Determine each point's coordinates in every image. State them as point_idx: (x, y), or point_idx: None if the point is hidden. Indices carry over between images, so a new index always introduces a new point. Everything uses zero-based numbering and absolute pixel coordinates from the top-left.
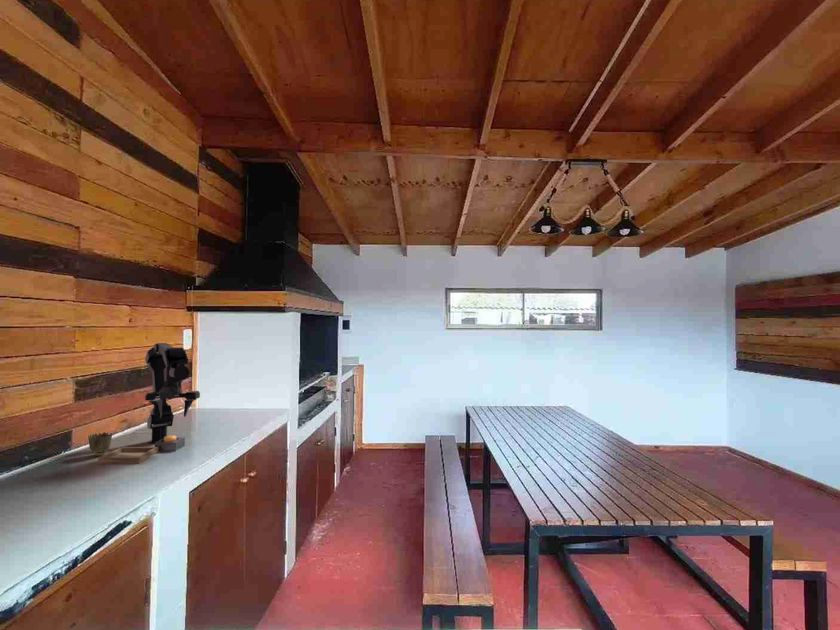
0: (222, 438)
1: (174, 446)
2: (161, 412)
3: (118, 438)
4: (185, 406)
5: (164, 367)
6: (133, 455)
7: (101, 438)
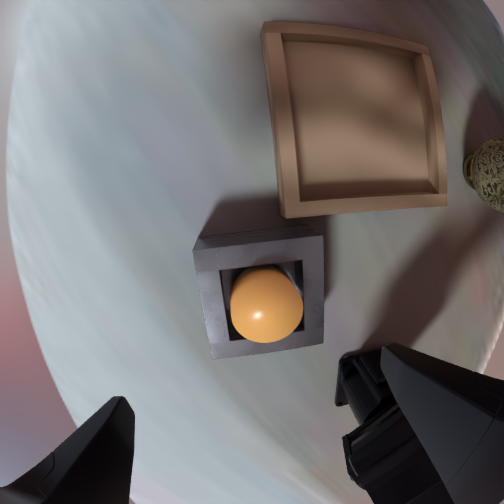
0: None
1: (202, 243)
2: (404, 401)
3: (475, 361)
4: (50, 477)
5: None
6: (356, 129)
7: None
